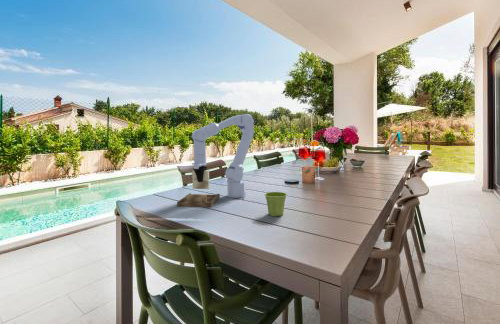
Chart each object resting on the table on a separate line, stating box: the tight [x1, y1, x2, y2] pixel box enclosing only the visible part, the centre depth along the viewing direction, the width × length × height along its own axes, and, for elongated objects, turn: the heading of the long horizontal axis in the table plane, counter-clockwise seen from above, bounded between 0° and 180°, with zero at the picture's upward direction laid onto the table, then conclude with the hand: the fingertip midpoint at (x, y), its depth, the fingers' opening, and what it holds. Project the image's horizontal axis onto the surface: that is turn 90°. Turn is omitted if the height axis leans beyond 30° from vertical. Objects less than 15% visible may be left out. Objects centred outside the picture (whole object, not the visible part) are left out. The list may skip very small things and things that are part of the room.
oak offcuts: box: [187, 193, 207, 203], centre depth 132 cm, size 9×3×4 cm, turn 84°
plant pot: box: [264, 191, 288, 217], centre depth 118 cm, size 9×9×9 cm
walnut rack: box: [176, 192, 221, 208], centre depth 137 cm, size 16×18×3 cm
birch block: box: [191, 169, 210, 190], centre depth 139 cm, size 8×2×9 cm, turn 84°
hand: (200, 181), depth 139 cm, fingers closed on birch block, 1 cm apart
